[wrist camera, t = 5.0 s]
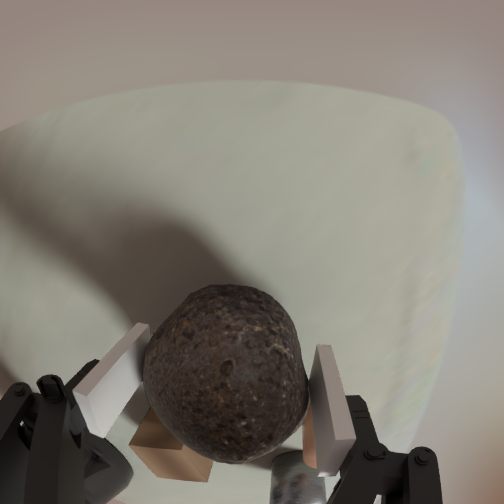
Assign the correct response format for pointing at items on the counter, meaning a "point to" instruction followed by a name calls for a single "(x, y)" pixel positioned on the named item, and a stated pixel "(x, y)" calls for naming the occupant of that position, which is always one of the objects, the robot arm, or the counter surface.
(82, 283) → the counter surface
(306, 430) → the peach rounded capsule
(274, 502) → the metal tin
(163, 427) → the walnut block
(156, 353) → the stone
